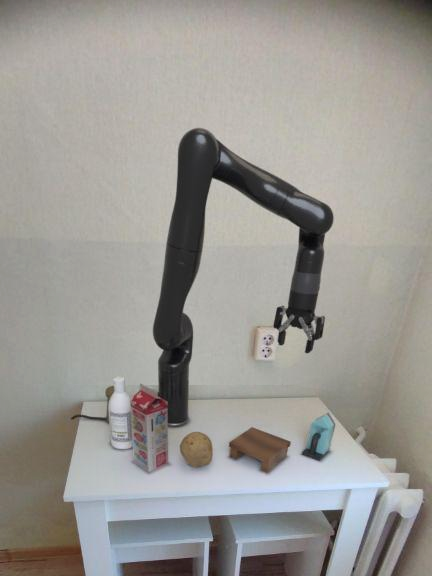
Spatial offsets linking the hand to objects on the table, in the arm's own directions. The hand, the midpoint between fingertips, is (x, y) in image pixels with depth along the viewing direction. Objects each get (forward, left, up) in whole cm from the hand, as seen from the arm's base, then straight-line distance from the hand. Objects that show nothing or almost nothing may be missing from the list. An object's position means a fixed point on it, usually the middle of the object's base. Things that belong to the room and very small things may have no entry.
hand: (294, 348), depth 132 cm
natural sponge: (-20, -29, -26) cm, 44 cm away
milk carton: (-32, -32, -26) cm, 52 cm away
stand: (-4, -19, -26) cm, 33 cm away
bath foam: (-43, -25, -26) cm, 56 cm away
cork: (-51, -12, -26) cm, 59 cm away
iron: (+13, -8, -20) cm, 25 cm away
